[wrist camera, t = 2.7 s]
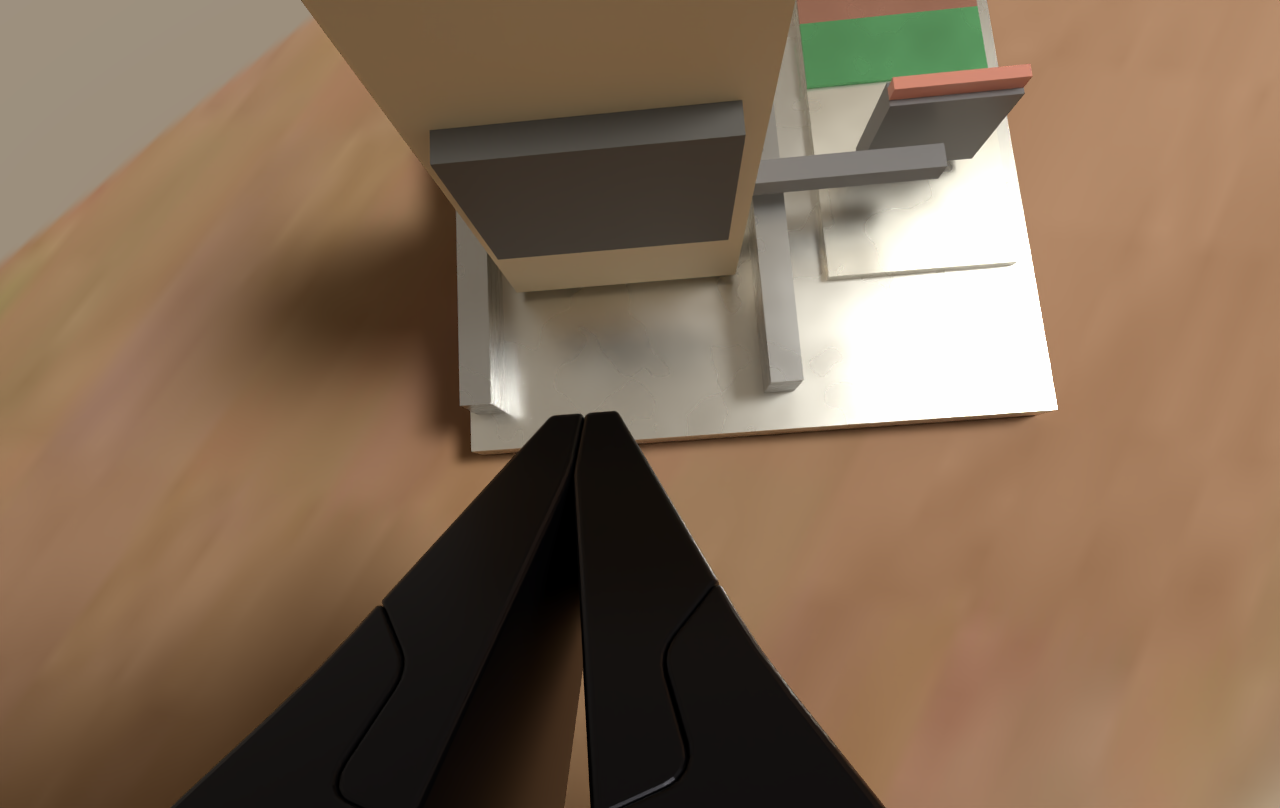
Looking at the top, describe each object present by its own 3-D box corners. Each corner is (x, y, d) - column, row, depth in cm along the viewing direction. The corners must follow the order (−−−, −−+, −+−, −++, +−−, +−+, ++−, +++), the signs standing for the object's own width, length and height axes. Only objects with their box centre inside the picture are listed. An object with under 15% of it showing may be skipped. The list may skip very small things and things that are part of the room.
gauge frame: (1037, 415, 18) (1092, 399, 16) (482, 454, 19) (452, 446, 17) (967, -2, 21) (1006, -72, 18) (471, 49, 21) (444, -12, 19)
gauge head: (926, 280, 18) (1305, -89, 7) (517, 313, 18) (280, 22, 8) (906, 138, 18) (1221, -395, 8) (512, 174, 19) (288, -275, 8)
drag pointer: (971, 158, 18) (1033, 82, 15) (858, 168, 18) (895, 95, 15) (968, 138, 18) (1029, 57, 15) (855, 148, 18) (891, 71, 15)
